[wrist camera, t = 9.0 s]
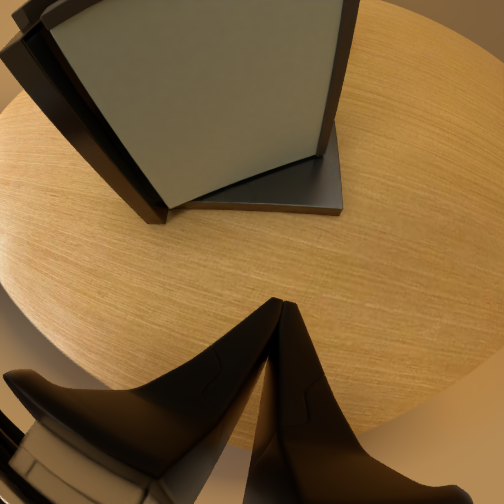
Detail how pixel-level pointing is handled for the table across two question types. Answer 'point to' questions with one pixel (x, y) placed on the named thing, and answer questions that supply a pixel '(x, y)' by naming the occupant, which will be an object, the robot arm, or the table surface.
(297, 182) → the shower stall
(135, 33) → the shower door
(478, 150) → the table surface
